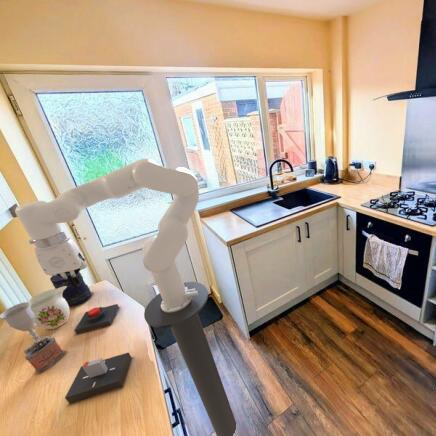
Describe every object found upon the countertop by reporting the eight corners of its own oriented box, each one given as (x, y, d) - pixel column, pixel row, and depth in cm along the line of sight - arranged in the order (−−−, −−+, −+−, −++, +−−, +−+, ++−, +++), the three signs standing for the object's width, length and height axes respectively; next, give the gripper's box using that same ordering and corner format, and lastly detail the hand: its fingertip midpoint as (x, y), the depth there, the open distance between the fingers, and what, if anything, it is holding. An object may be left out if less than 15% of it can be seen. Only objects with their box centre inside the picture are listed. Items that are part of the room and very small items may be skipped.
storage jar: (76, 308, 109) (60, 282, 103) (60, 306, 112) (43, 280, 106) (97, 293, 118) (83, 267, 112) (82, 291, 120) (67, 266, 114)
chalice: (32, 357, 88) (2, 320, 80) (26, 349, 91) (-3, 313, 84) (57, 341, 93) (31, 305, 86) (51, 334, 97) (25, 299, 89)
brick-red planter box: (61, 350, 89) (47, 331, 85) (67, 353, 88) (53, 333, 84) (34, 371, 82) (17, 351, 78) (40, 374, 81) (23, 354, 77)
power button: (102, 309, 102) (100, 306, 101) (98, 315, 99) (96, 312, 98) (92, 311, 101) (90, 308, 100) (88, 318, 98) (86, 315, 97)
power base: (119, 307, 107) (115, 300, 105) (110, 325, 98) (106, 317, 97) (88, 315, 104) (83, 308, 103) (76, 334, 96) (71, 326, 94)
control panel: (132, 358, 83) (128, 351, 82) (122, 387, 75) (118, 380, 73) (85, 372, 80) (80, 366, 79) (69, 404, 72) (64, 397, 70)
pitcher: (25, 331, 100) (5, 306, 94) (79, 305, 111) (64, 281, 105) (26, 346, 93) (4, 320, 87) (84, 316, 104) (68, 291, 98)
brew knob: (108, 368, 77) (101, 357, 75) (106, 373, 76) (99, 362, 74) (92, 373, 76) (84, 362, 74) (89, 378, 75) (81, 367, 73)
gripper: (14, 250, 73) (46, 298, 81) (71, 239, 76) (97, 285, 84) (30, 239, 80) (58, 284, 87) (83, 229, 83) (105, 273, 91)
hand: (77, 284), depth 86 cm, fingers closed
